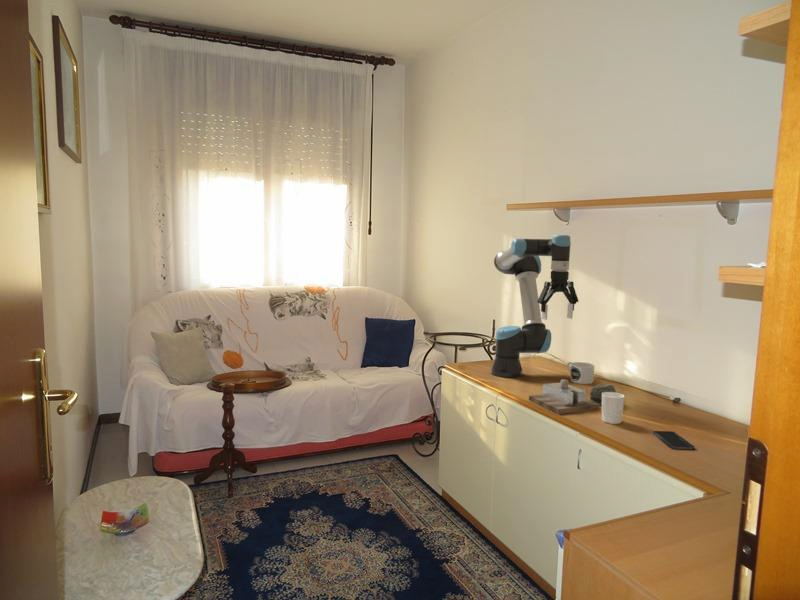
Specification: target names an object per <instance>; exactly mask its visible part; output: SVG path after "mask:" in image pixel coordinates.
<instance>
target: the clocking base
mask: <svg viewBox="0 0 800 600" xmlns="http://www.w3.org/2000/svg"><path fill="white" fill-rule="evenodd" d="M560 383H561V384H560V388H561V389H568V384H569V380H568V379H560ZM573 398H574V393H573ZM529 400H530V402H531V401H532V403H533V402H534V404H535V403H536V405H538V406H540V407H541V408H544V409H546V410H548V411H551V412H552V413H555V414H556V415H564V414H569V413H577V412H587V411H595V410H600V404H598V403H596V402H593V401H591V399H588V398H586V397H585V404H575V403H573V405H568V406H564V405H561V404H559V403H557V402H555V401H552V400H550V399H548V398H546V397H544V396H543V393H540V394H532V395H528V401H529Z"/></svg>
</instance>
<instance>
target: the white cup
mask: <svg viewBox="0 0 800 600" xmlns="http://www.w3.org/2000/svg"><path fill="white" fill-rule="evenodd" d="M625 399H626V398H625V395H624V394H622V393H619V392H616V393H615V392H604V393H602V406H601V420H602V422H603V423H606V424H610V425H618V424H621V423H622V419H623V415H624V414H623V411H624V406H625V405H624V404H625Z"/></svg>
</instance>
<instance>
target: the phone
mask: <svg viewBox="0 0 800 600" xmlns="http://www.w3.org/2000/svg"><path fill="white" fill-rule="evenodd" d="M652 435H653V436H655V437H656V438H657V439H658V440H659V441H661V442H662V443H663V444H664V445H665V446H666V447H668V448H669V449H671V450H677V451H678V450H679V451H680V450H681V451H682V450H683V451H688V450H689V451H694V450H695V446H694V444H691V442H689V441H688V440H686V439H685V438H683V437H682V436H681V435H679V434H678V433H677V432H675V431H669V430H667V431H665V430H661V431H660V430H652Z"/></svg>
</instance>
